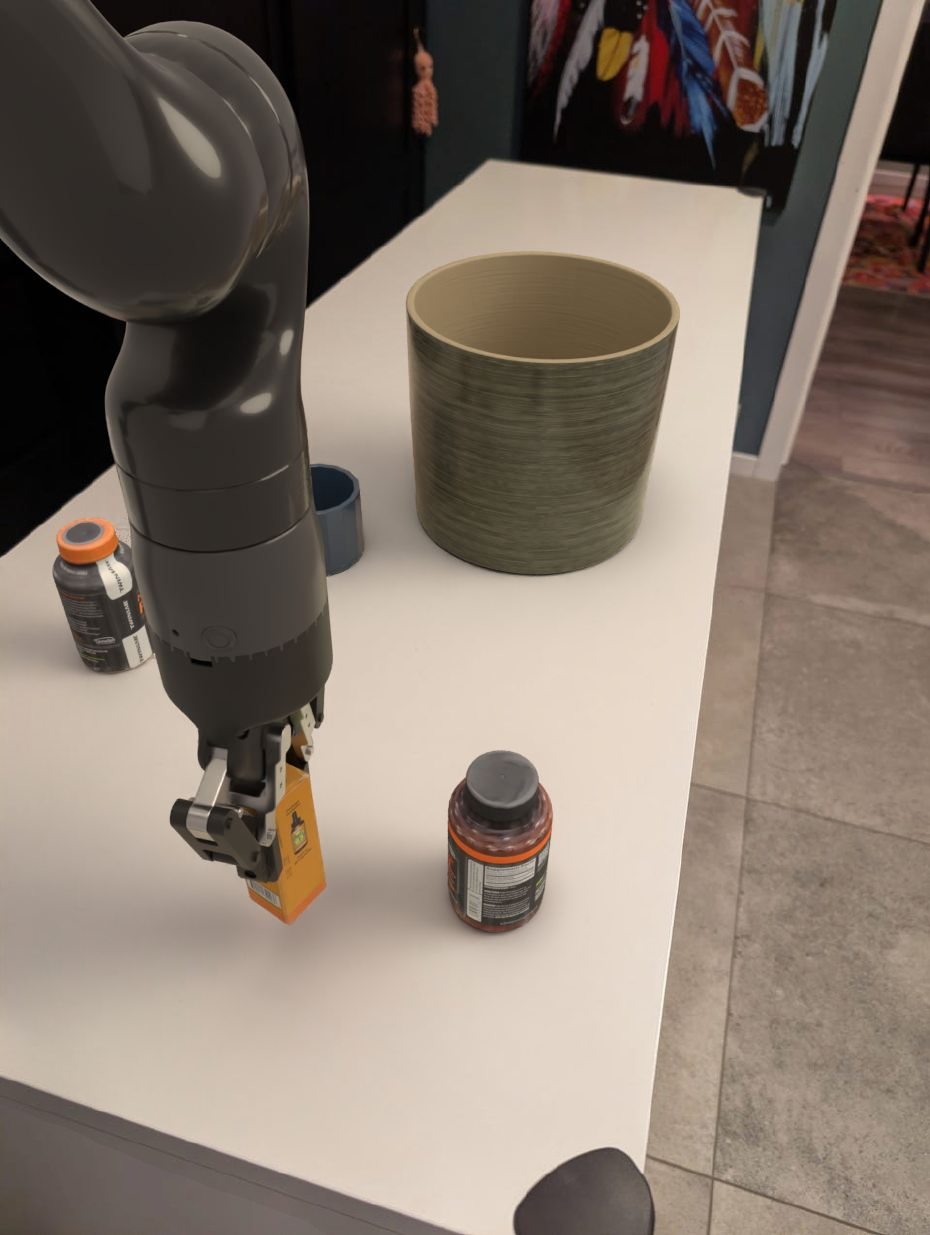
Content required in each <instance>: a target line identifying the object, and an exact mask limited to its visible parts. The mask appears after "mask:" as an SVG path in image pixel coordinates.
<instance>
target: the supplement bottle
mask: <svg viewBox="0 0 930 1235" xmlns="http://www.w3.org/2000/svg"><path fill="white" fill-rule="evenodd" d="M553 821H554V811H553V805H552V801H551V797H550V795H549V794H548V792H547V790H546V789H545V787H544V786H543V785H542V783H540V778H539V773H538V770H537V768H536V766H535V765H534V764H533V763H532V762H531V760H530V759H528V758H527V757H525V756H524V755H522V754H520V753H518V752H514V751H512V750H505V749H504V750H503V749H502V750H499V749H497V750H492V751H491V750H490V751H488V752H485V753H482V754H479V756H477V757H476V758H475V759H474V760H472V762H471V763H470V765H468V767H467V770H466V773H465V777H464V778H463V779H462V780H460V781H459V783H458V784H457V785H456V786H455V788H454V789H453V791H452V793H451V795H450V798H449V800H448V808H447V889H448V896H449V899H450V902H451V905H452V906H453V909H454V911H456V913H457V915H458V916H459V917H460V918H461V919H462V920H463V921H464V922H465V923H467V924H469V925H471V926H473V927H474V928H476V929H479V930H482V931H485V932H490V933H503V932H508V931H513V930H516V929H518V928H521V927H522V926H524V925H526V924H527V923H528V922H530V920H532V918H534V916H535V915H537V912H538V911H539V909H540V908H541V905H542V902H543V898H544V895H545V890H546V882H547V881H546V880H547V874H548V873H547V871H548V866H549V865H548V864H549V857H550V848H551V839H552V830H553Z"/></svg>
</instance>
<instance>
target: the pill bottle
mask: <svg viewBox="0 0 930 1235" xmlns="http://www.w3.org/2000/svg"><path fill="white" fill-rule="evenodd" d="M55 541H56V544H57V548H58V553H59V554H58V555H57V556H56V558H55V560H54V561H53V565H52V570H51V571H52V578H53V582H54V584H55V587H56V590H57V592H58V596H59V599H60V601H61V605H62V607H63V611H64V614H65V618H66V620H67V623H68V626H69V629H70V632H71V635H72V638H73V641H74V644H75V647H76V650H77V653H78V656H79V657H80V660H81V661H82V663H83V664H84V665H85V666H86V667H88V668H90V669H91V670H93V671H97V672H100V673H119V672H125V671H128V670H131V669H133V668H136V667H137V666H140V665H141V664H143V663H144V662H146V661H147V660H148V659H149V658H150V657H151V656H152V655H153V654H155V652H154V648H153V644H152V640H151V636H150V632H149V628H148V624H147V620H146V616H145V611H144V607H143V603H142V599H141V596H140V592H139V588H138V584H137V580H136V576H135V571H134V566H133V560H132V551H131V546H130V545H128V544H127V543H126V542H124V541H122V540H120V539H119V537H118V535H117V533H116V529H115V527H114V525H113V523H111V522H110V521H108V520H106V519H103V518H99V517H86V518H85V517H84V518H81V519H76V520H74V521H72V522H69V523H67V524H66V525H64V526H63V527H62V528H60V529H59V531H58V532H57V534H56V538H55Z"/></svg>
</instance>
